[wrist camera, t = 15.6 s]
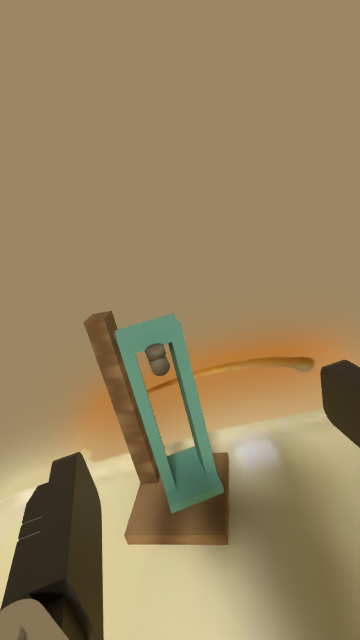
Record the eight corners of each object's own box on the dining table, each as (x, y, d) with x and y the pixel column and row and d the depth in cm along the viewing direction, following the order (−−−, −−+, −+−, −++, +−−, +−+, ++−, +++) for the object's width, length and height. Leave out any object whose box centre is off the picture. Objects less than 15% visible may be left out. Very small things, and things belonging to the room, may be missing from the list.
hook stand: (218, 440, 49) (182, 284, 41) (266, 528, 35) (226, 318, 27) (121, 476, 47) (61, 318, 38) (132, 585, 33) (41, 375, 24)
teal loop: (204, 449, 41) (168, 308, 35) (224, 492, 35) (185, 329, 28) (159, 466, 41) (114, 325, 34) (171, 513, 34) (118, 350, 27)
